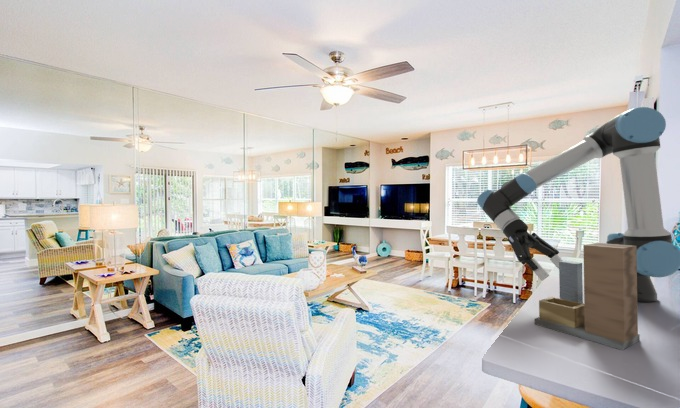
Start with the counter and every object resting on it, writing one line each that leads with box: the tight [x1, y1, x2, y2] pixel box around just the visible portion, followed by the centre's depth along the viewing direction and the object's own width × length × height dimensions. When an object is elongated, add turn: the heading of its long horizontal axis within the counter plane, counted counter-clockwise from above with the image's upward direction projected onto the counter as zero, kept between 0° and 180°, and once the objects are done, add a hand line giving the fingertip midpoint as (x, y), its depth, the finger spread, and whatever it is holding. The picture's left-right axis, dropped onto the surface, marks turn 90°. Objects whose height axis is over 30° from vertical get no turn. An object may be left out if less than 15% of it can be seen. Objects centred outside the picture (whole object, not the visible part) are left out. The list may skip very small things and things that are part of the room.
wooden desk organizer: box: [534, 242, 641, 351], centre depth 87 cm, size 10×20×24 cm, turn 31°
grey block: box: [558, 260, 584, 304], centre depth 101 cm, size 3×5×16 cm, turn 31°
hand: (557, 275), depth 103 cm, fingers open, 13 cm apart
